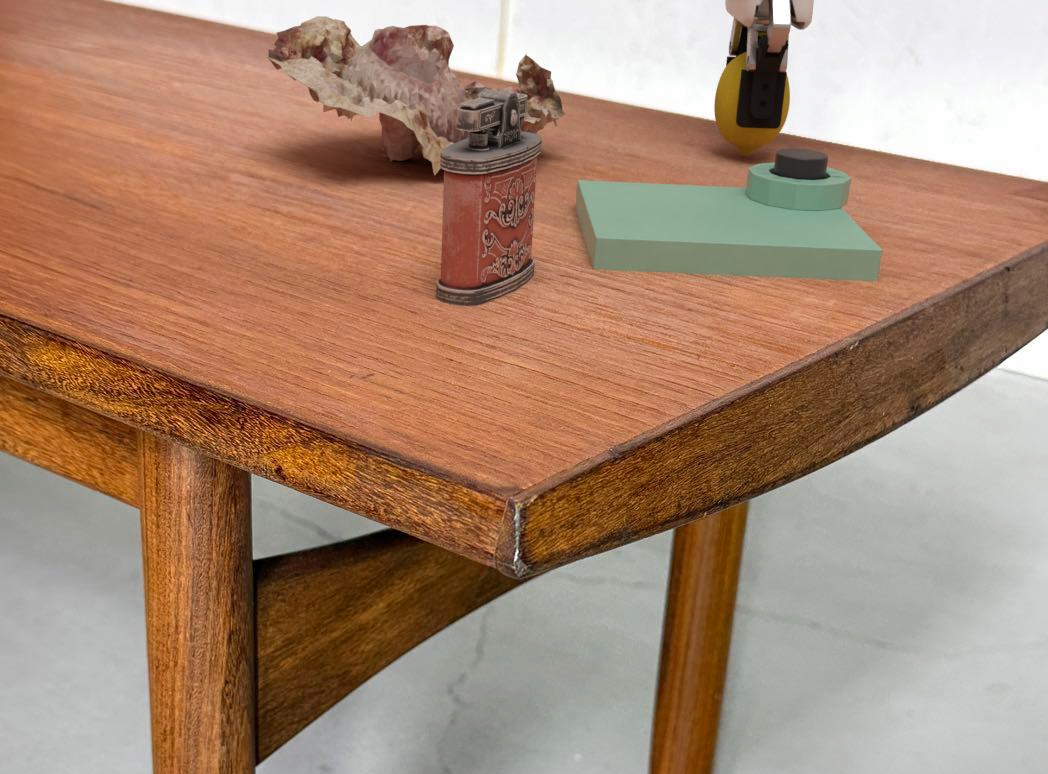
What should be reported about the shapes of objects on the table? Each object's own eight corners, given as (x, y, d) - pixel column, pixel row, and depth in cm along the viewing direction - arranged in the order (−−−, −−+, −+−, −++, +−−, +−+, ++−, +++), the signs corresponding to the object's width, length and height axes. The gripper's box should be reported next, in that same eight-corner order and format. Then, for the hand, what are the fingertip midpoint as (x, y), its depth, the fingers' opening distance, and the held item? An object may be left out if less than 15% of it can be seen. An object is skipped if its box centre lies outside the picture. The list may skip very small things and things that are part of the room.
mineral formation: (291, 176, 94) (356, 35, 89) (220, 62, 104) (274, -70, 100) (564, 255, 108) (632, 136, 103) (477, 147, 118) (535, 35, 113)
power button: (818, 174, 94) (822, 149, 93) (829, 185, 91) (833, 160, 90) (768, 172, 93) (771, 147, 93) (778, 183, 91) (781, 158, 90)
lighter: (491, 264, 82) (500, 78, 78) (547, 274, 81) (559, 86, 77) (421, 300, 76) (426, 99, 71) (480, 311, 75) (489, 108, 70)
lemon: (740, 146, 116) (752, 38, 113) (797, 158, 112) (811, 48, 109) (694, 153, 113) (704, 43, 109) (751, 167, 109) (764, 53, 106)
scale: (828, 218, 96) (836, 164, 95) (887, 283, 83) (897, 221, 82) (574, 207, 95) (578, 152, 94) (593, 271, 82) (598, 208, 81)
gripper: (862, -141, 96) (824, 144, 104) (806, -147, 111) (777, 101, 119) (747, -146, 96) (718, 140, 103) (707, -152, 111) (684, 97, 119)
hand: (750, 116), depth 111 cm, fingers closed on lemon, 5 cm apart
